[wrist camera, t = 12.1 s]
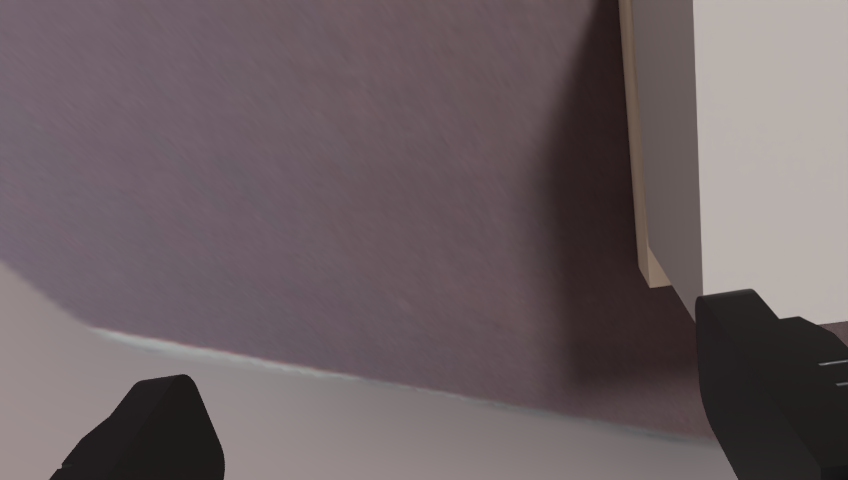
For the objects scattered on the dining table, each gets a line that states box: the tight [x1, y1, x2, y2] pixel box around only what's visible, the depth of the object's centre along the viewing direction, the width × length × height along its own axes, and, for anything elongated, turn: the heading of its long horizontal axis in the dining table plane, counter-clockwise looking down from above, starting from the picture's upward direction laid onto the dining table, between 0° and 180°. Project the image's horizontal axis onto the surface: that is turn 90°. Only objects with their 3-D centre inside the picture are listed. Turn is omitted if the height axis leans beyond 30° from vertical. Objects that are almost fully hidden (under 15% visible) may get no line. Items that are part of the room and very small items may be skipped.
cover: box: [632, 0, 848, 325], centre depth 20 cm, size 10×11×7 cm
